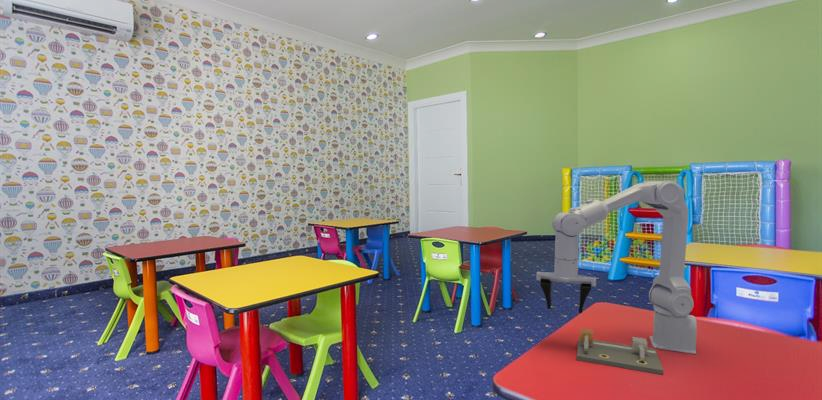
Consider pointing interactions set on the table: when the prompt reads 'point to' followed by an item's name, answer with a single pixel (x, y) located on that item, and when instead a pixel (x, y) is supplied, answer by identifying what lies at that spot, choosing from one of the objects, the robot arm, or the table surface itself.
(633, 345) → the fixed leg
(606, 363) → the plate
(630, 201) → the robot arm
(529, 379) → the table surface
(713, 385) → the table surface
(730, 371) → the table surface
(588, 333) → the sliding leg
